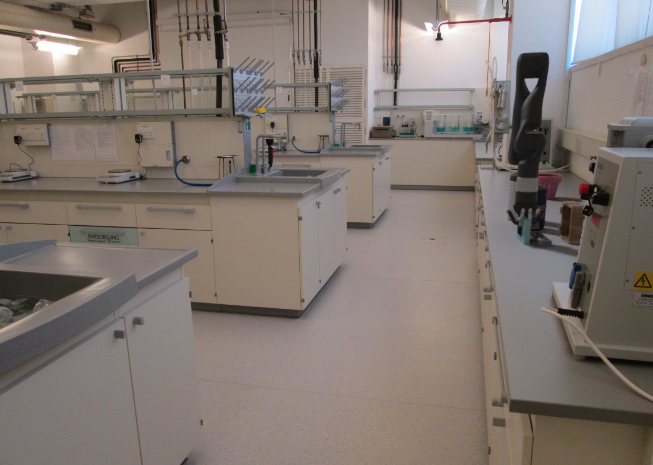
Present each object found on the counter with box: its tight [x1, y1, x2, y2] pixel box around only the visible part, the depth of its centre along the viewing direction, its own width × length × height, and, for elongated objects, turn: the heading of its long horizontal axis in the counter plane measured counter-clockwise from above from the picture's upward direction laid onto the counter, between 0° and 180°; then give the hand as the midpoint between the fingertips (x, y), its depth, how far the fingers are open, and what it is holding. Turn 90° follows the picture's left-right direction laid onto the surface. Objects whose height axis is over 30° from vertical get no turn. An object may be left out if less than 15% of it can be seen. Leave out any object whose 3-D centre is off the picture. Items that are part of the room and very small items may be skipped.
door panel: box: [516, 217, 531, 246], centre depth 182 cm, size 10×2×9 cm, turn 173°
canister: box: [530, 185, 548, 231], centre depth 200 cm, size 10×10×18 cm
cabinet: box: [557, 200, 585, 245], centre depth 181 cm, size 10×5×14 cm, turn 173°
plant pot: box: [538, 172, 562, 200], centre depth 267 cm, size 14×14×13 cm
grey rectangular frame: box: [529, 230, 553, 247], centre depth 182 cm, size 15×5×2 cm, turn 173°
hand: (523, 235), depth 183 cm, fingers closed on door panel, 1 cm apart
